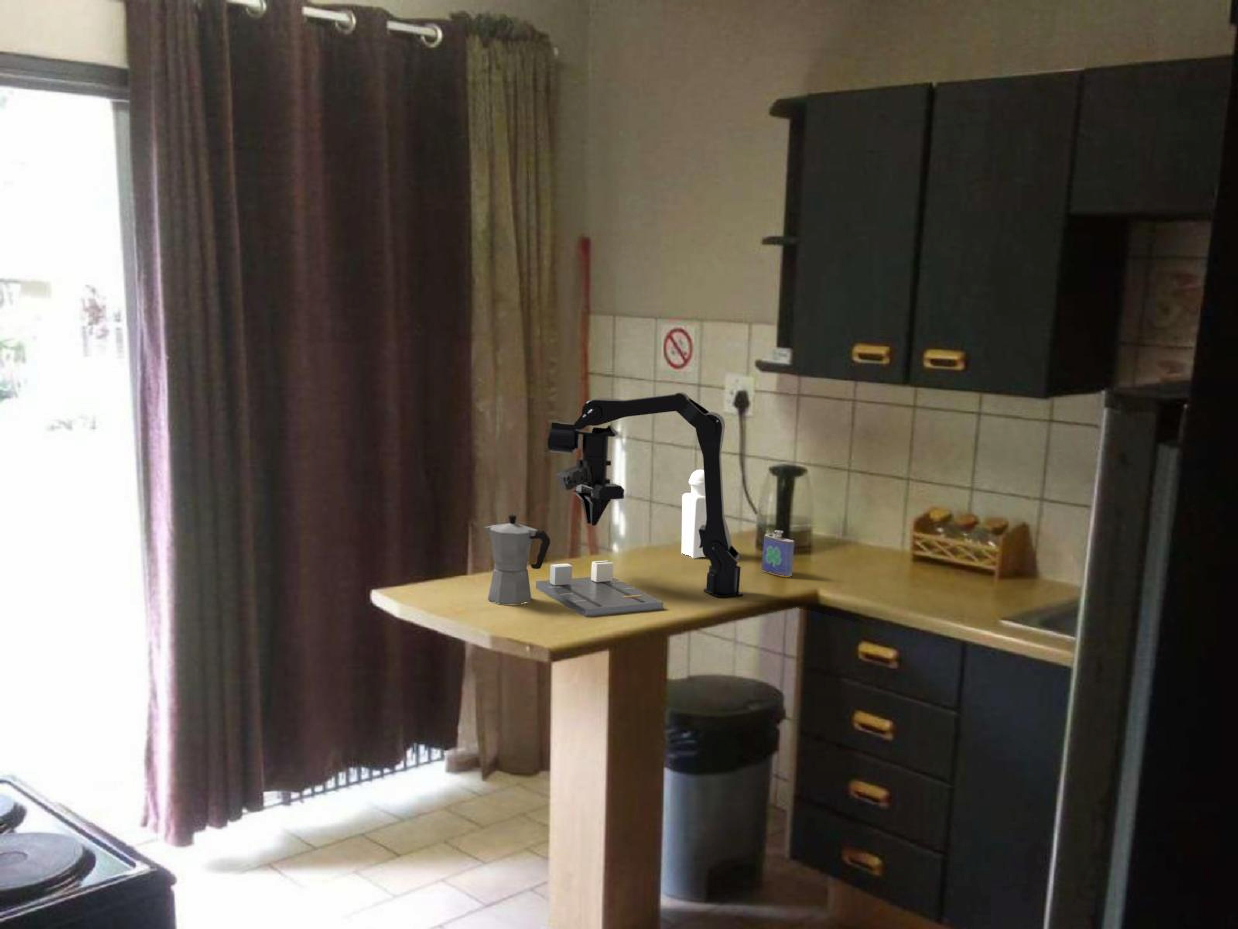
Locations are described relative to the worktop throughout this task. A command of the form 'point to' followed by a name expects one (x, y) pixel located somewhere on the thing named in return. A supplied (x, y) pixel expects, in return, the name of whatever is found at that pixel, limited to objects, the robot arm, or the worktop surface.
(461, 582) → the worktop surface
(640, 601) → the panel
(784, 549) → the flask
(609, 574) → the block
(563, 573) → the block white
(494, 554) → the coffeepot
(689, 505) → the white square decanter
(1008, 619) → the worktop surface
